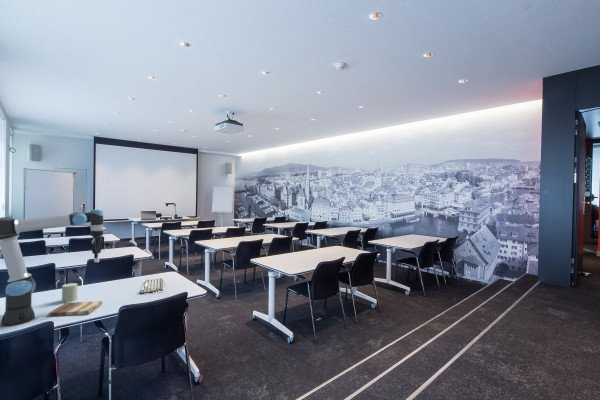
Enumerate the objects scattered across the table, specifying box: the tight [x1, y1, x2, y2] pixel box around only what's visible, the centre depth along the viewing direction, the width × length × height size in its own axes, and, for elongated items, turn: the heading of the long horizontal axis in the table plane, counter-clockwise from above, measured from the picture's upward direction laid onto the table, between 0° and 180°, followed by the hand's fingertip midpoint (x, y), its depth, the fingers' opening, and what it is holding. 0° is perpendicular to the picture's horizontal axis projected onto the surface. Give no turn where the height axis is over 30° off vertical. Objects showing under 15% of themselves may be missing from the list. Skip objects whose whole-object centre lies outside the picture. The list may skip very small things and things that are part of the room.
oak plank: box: [64, 300, 103, 316], centre depth 200 cm, size 14×18×2 cm
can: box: [61, 282, 78, 303], centre depth 217 cm, size 9×9×12 cm
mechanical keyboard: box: [139, 277, 164, 295], centre depth 253 cm, size 38×19×3 cm, turn 26°
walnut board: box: [48, 301, 81, 317], centre depth 198 cm, size 9×18×2 cm, turn 11°
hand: (96, 262), depth 215 cm, fingers closed
